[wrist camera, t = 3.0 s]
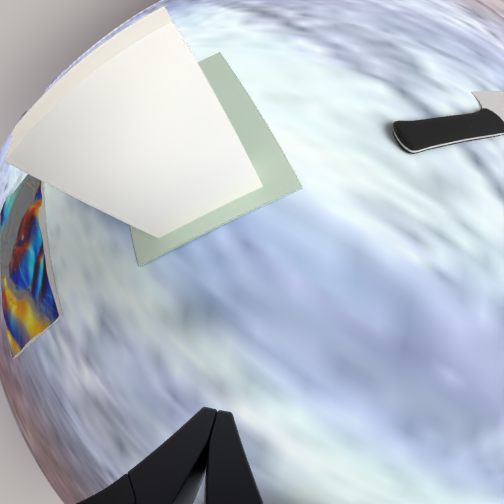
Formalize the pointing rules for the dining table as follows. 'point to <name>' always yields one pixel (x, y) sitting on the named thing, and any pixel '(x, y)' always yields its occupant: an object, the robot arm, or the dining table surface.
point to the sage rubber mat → (259, 151)
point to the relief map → (26, 267)
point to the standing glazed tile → (137, 133)
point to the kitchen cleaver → (453, 126)
